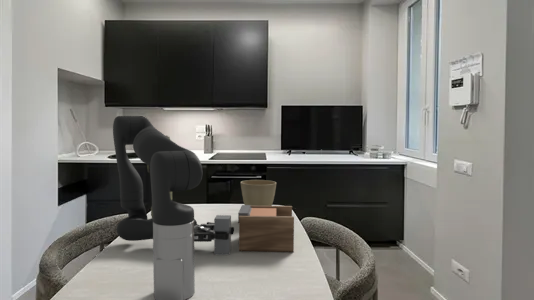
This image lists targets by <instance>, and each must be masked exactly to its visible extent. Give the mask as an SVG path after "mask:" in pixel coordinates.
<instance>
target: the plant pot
mask: <svg viewBox="0 0 534 300" xmlns="http://www.w3.org/2000/svg"><path fill="white" fill-rule="evenodd" d="M240 189H241V195H242V196H241V197H242V201H243V205H251V206H273V204H274V203H273V202H274V199H275V195H276V189H277V182H276V181H273V180H265V179H249V180H242V181H240Z"/></svg>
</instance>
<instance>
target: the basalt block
mask: <svg viewBox="0 0 534 300" xmlns="http://www.w3.org/2000/svg"><path fill="white" fill-rule="evenodd" d="M213 223H214V231H216V232H217V231H219V232H228V233H229V238H228V239H227V240H222V239H216V240H213V242H214V244H213V245H214V246H213V247H214V248H213V249H214V255H226V256H227V255H228V256H229V255H230V253H231V251H232V234H231V227H232V215H226V214H223V215H222V214H217V215H216V216H214V221H213Z"/></svg>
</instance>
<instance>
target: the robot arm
mask: <svg viewBox="0 0 534 300" xmlns="http://www.w3.org/2000/svg"><path fill="white" fill-rule="evenodd" d="M166 136H167V135H165V134H164V133H163V132H161V131H160V130H159V129H157V128H156V127H154V125H153V124H152V123H151V121H150V120H149V118H147V117H146V116H141V115H118V116H116V117H115V118H114V120H113V124H112V137H113V144H114V151H115V159H116V165H117V170H118V178H119V191H120V192H119V194H120V195H119V197H120V207H121V209H123V210H125V211H127V217H125V218H123V219H121V220H120V221H119V222H118V224H116V225H117V226H116V233H117V234H116V235H118V237H119V238H120V239H122V240H124V241H129V242H130V241H131V242H132V241H134V242H137V241H146V240H152V241H153V242H152V249H153V251H152V252H153V253H152V254H153V256H152V257H153V259H152V263H153V264H152V265H153V267H152V268H153V273H152V274H153V296H154V300H187V299H189V298H191V297H192V296H193V295H194V294H195V279H196V278H195V276H196V275H195V242H196V243H197V242H198V243H199V242H200V243H201V242H202V243H204V242H205V243H207V242H208V243H209V242H212V241H214V240H216V239H222V240H227V239H228V238H229V233H228V232H219V231H217V232H216V231H214V222H211V221H210V222H209V221H207V222H206V223H201V224H199V223H197V220H196V219H195V209H194V208H193V207H192V206H190V205H188V204H185V203H181V202H177V201H175V200H173V199H172V200H171V198H170V192H172V193H173V192H181V191H190V190H192V189H195V188H197V187H198V186H199V185H200V184H201V182H202V179H203V174H204V173H203V166H202V163H201V160H200V158H199V157H198V155H197V154H196V153H194V151H192V150H190V149H187V148H185V147H183V146H180V145H179V144H177V143H176V142H174V141H172V139H171V138H170V139H168V138H167V137H166ZM128 145H129V146H130V145H132V148H133V151H134V153H135V156H137V157H138V159H139V160H140V161H142V163H144V164H145V165H146V166H147V165H149V166H150V173H149V175H150V178H149V179H150V188H151V207H152V211H153V218H152V217H150V218H148V215H147V209H146V207H145V204H144V184H143V180H142V177H141V176H140V173H139V172H138V170H137V169H136V168H135V166H134V165H133V163H132V161H131V159H130V158H129V157H128V152H127V148H126V146H128ZM234 234H235V228H234V226H231V235H234Z"/></svg>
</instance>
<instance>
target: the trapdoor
mask: <svg viewBox="0 0 534 300" xmlns="http://www.w3.org/2000/svg"><path fill="white" fill-rule="evenodd" d="M239 216H276V208H251V205H244V204H241V207H240V208H239V211H238V215H237V218H238V219H237V220H238V222H237V224H239Z"/></svg>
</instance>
